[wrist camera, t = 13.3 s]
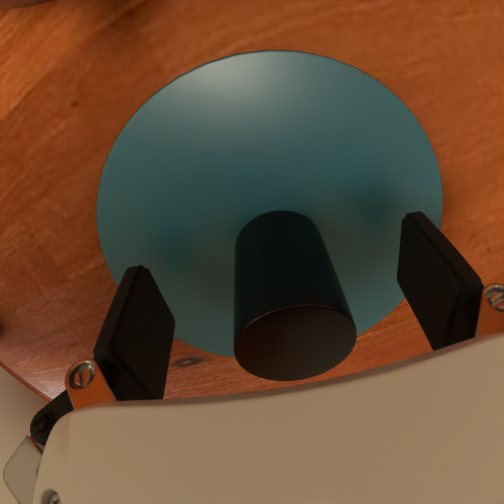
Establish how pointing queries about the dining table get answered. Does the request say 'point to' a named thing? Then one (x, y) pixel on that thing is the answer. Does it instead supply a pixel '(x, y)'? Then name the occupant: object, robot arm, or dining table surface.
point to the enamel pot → (18, 3)
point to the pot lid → (269, 206)
